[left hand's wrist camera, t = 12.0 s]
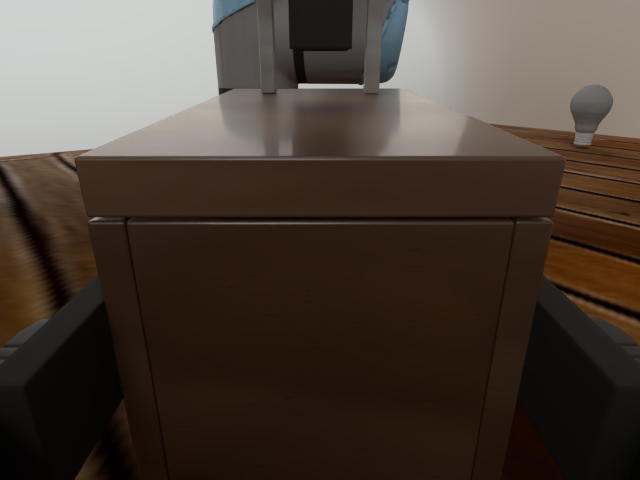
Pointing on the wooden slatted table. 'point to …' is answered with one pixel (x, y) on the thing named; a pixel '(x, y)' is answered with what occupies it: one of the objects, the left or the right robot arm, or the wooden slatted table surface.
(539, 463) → the wooden slatted table surface
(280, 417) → the chest
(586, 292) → the wooden slatted table surface
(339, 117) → the lid
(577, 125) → the light bulb
